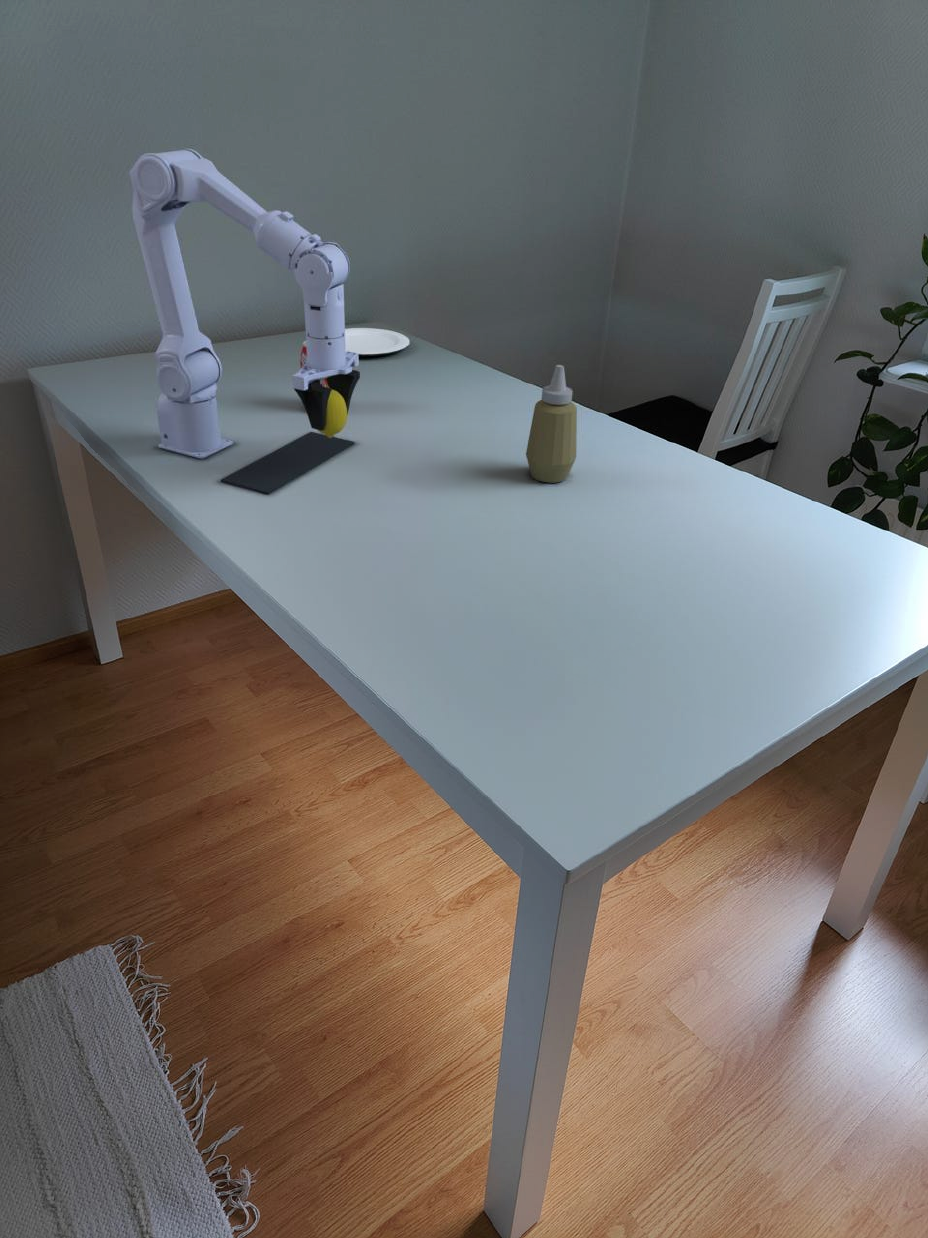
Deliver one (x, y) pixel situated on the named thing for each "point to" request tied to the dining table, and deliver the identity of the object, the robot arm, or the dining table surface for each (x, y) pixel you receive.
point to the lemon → (335, 414)
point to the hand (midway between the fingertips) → (329, 422)
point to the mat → (287, 463)
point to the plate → (374, 341)
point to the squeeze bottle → (553, 432)
